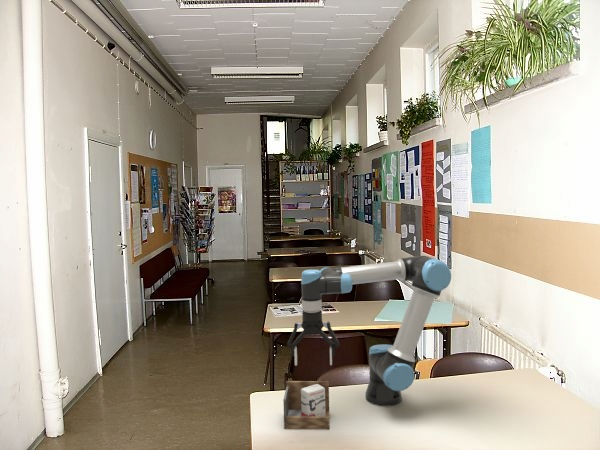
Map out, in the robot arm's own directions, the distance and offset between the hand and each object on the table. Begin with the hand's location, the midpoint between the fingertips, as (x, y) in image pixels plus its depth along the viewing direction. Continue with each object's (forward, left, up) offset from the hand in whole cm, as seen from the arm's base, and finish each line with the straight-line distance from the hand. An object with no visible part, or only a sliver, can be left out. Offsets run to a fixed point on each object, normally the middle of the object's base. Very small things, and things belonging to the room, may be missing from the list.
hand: (313, 364), depth 197 cm
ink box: (0, 0, -21) cm, 21 cm away
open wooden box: (+3, 0, -23) cm, 23 cm away
